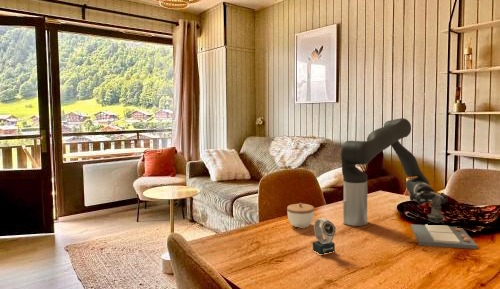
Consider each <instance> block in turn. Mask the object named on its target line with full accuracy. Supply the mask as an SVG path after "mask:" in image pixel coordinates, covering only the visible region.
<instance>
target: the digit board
mask: <svg viewBox="0 0 500 289" xmlns="http://www.w3.org/2000/svg"><path fill="white" fill-rule="evenodd" d="M410 225H411V226H410V227H411V230H412V232H413V234H414V236H415V239H416V241H417V243H418V245H419V246H425V247H426V246H429V247H442V248H443V247H444V248H454V249H455V248H458V249H472V250H478V244H477V243H476V242H475V241H474V240H473V238H472V237H471V236H469V234H468V233H467V231H466V230H465V229H464V228H457V227H458V226H450V225H445V224H443V225H428V223H427V224H413V223H412V224H410Z"/></svg>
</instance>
